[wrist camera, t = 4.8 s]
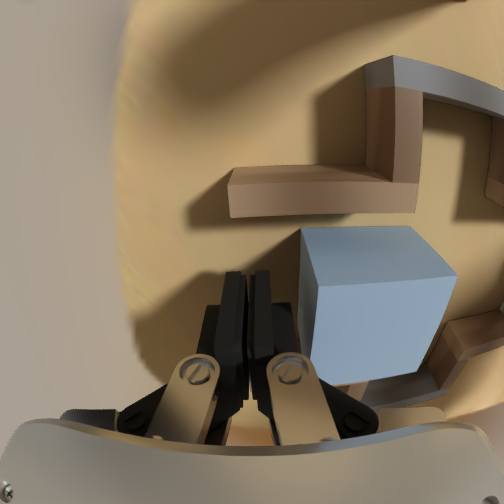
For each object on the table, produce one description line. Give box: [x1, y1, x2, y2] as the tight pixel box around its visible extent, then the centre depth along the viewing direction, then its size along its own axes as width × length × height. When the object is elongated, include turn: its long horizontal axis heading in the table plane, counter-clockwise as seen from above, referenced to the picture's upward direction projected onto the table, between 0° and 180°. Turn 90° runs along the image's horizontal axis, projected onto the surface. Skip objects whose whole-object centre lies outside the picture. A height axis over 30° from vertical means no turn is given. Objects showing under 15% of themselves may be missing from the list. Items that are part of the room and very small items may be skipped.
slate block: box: [297, 226, 458, 385], centre depth 11 cm, size 5×5×4 cm
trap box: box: [227, 55, 504, 411], centre depth 11 cm, size 18×18×2 cm
